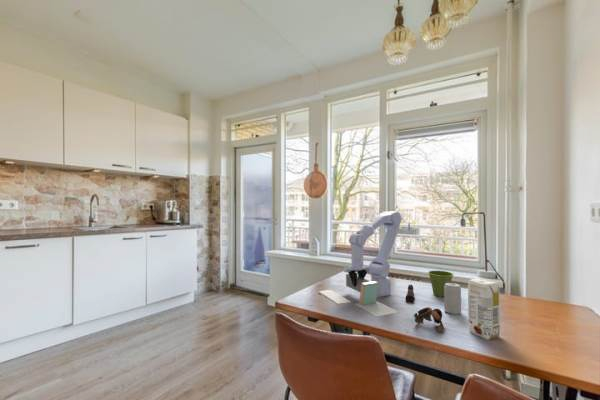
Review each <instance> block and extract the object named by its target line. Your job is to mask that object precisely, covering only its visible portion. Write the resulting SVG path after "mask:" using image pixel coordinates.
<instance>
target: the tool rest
mask: <svg viewBox="0 0 600 400" xmlns="http://www.w3.org/2000/svg"><path fill="white" fill-rule="evenodd" d="M318 294H320V295H322V296H324V297H326V298H327V299H328V300H330V301H332V302H333V303H335V304H337V305H345V304H350V303H352V300H349V299H348V298H345V297H343V296H342V295H340V294H339V293H337V292H335V291H334V290H332V289H325V290H319V291H318Z"/></svg>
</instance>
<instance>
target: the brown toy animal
mask: <svg viewBox="0 0 600 400" xmlns="http://www.w3.org/2000/svg"><path fill="white" fill-rule="evenodd" d="M431 316H432V317H431ZM413 318H414V322H415V323H416V324H417V323H418V324H420V323H421V325H424V320H425V321H428V322H432V321H434V323H435V324H438V326H437V330H438V332H439V333H440V334H441V333H443V332H444V330H445V327H444V324H443V321H442V319H443V312H442V310H441V309H439V308H433V309H432V307H429V306H428V307H423V308H422V309H420V310H417V312H415V313H414V314H413ZM432 319H433V320H432Z"/></svg>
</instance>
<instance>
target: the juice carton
mask: <svg viewBox="0 0 600 400" xmlns="http://www.w3.org/2000/svg"><path fill="white" fill-rule="evenodd" d="M500 295H501V293H500V283H499V282H496V281H490V280H486V279H483V278H482V277H481V278H480V277H479V278H477V277H476V278H471V279H469V280H468V283H467V304H468V305H467V307H468V309H467V311H468V313H467V314H468V315H467V316H468V331H469V333H470V334H474V335H476V336H478V337H481V338H483V339H485V340H487V341H489V340H492V339H496V338H499V337H500V334H501V296H500Z"/></svg>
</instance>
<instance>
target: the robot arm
mask: <svg viewBox="0 0 600 400" xmlns="http://www.w3.org/2000/svg"><path fill="white" fill-rule="evenodd" d="M400 213H401V212H398V211H385V210H384V211H381V213H378V216H377V217H376V218H375V219H374V220H373V221H372V222H371V223H370V224H364V225H363V227H362V228H361V229H359V230H356V232H355V233H352V234H351V235H350V236H349V239H348V243H349V244H350V248H351V249H350V250H351V254H350V255H351V265H350V266H345V267H343V272H344V273H347V274H349V275H350V278H351V281H352V285H353V286H355V287H356V279H357V276H358V277H361V278H363V279H365V277H366V276H367V273H369V275H370V282H371V281H377V282H378V291H377V298H379V297H385V296H392V295H393V293H392V286H391V285H392V283H391V279H390V277H389V275H390V267H391V265H390V264H391V263H389V262H388V260H389V258H390V254H391V253H392V250H393V248H394V247H393V246H394V244H395V241H396V238H397V235H398V233H399V229H400V225H401V223H402V216H401V214H400ZM382 225H383V226H384V228H385V229H386V233H385V235H384V237H383V240H382V243H381V245H380V247H379V251H378V253H377V256H375V258H373V259H372V260H371V262H370V263H369V264H367V265H364V246H365V244H366V242H367V240H368V239H369V238H371V236H373V235H374V234H375V230H376V229H378V228H380V227H381V226H382Z"/></svg>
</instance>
